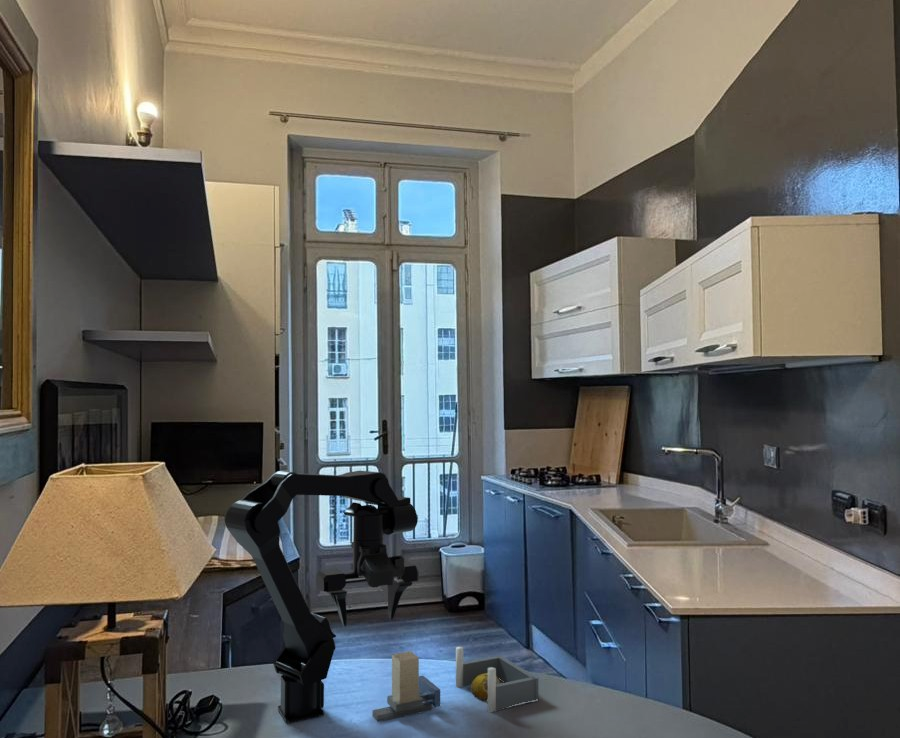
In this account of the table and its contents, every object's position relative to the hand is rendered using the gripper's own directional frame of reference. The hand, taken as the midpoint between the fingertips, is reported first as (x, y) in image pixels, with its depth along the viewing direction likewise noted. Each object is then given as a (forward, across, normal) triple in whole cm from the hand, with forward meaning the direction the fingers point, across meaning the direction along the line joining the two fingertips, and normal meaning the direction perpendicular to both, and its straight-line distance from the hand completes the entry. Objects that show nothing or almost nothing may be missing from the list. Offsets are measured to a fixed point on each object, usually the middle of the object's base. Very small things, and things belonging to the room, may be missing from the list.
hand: (368, 622), depth 131 cm
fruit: (+12, +19, -15) cm, 27 cm away
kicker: (+11, +3, -13) cm, 17 cm away
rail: (+12, +2, -13) cm, 18 cm away
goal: (+12, +20, -13) cm, 27 cm away
